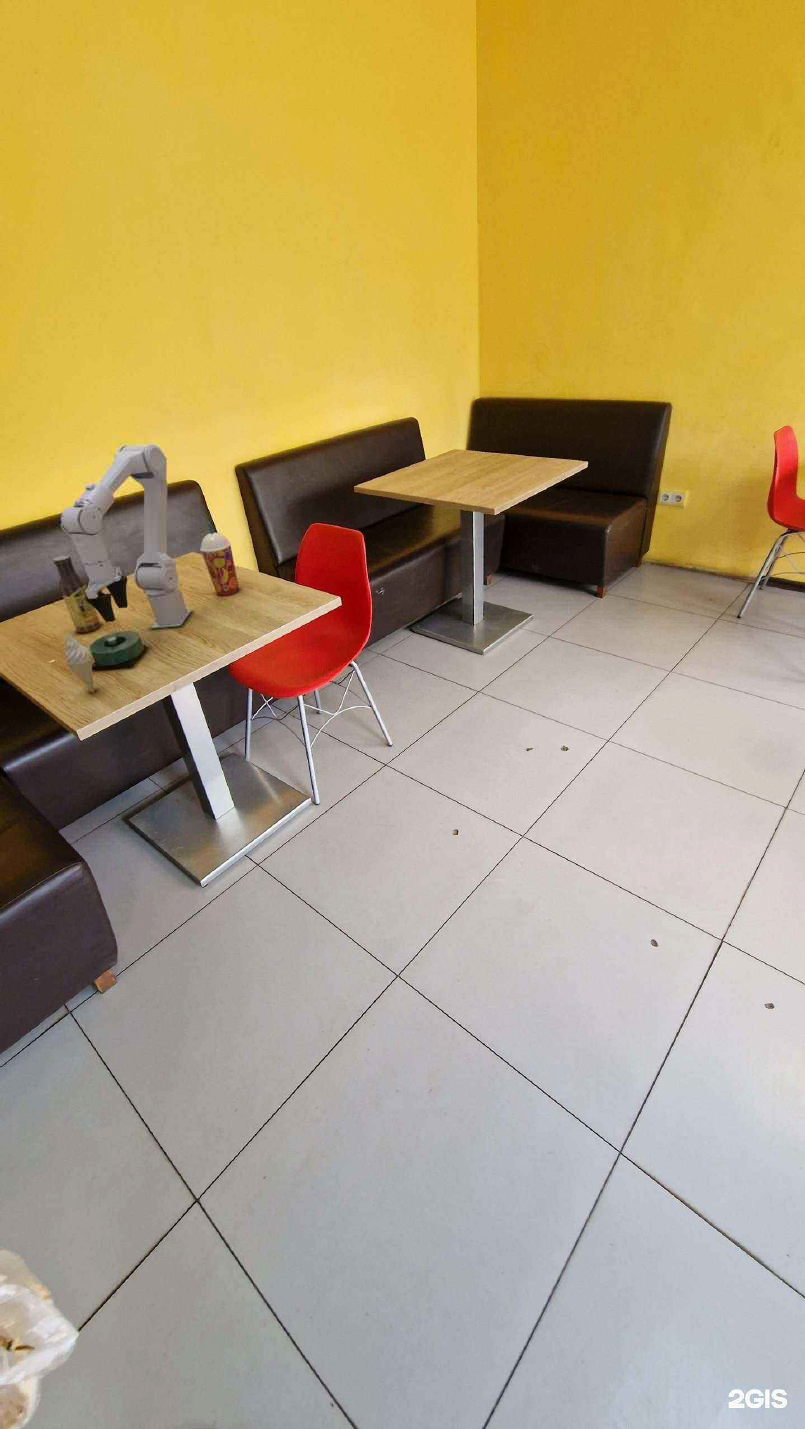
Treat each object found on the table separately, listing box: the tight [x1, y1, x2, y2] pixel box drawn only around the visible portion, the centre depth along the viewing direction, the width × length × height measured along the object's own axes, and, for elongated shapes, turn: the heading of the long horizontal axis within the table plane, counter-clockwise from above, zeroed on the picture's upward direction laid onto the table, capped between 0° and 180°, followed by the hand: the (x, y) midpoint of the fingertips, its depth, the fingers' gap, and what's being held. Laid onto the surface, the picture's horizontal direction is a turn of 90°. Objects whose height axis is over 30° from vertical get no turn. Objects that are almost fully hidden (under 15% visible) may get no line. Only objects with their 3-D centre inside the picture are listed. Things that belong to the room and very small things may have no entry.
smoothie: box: [200, 522, 239, 596], centre depth 178 cm, size 8×8×20 cm
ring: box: [88, 630, 144, 665], centre depth 153 cm, size 12×12×3 cm
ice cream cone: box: [63, 631, 95, 693], centre depth 137 cm, size 5×5×15 cm
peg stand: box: [91, 637, 148, 672], centre depth 152 cm, size 10×10×6 cm
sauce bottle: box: [52, 554, 101, 633], centre depth 166 cm, size 6×6×20 cm
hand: (117, 614), depth 152 cm, fingers open, 7 cm apart
